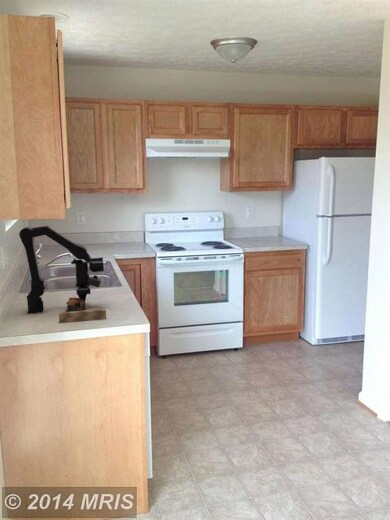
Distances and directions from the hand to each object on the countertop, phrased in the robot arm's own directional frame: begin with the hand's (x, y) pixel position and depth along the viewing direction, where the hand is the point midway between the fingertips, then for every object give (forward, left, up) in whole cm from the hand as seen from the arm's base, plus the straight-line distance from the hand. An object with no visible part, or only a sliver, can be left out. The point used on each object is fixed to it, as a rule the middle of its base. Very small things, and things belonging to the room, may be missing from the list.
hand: (83, 304), depth 225 cm
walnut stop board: (-1, -19, -2) cm, 19 cm away
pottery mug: (-3, -7, -2) cm, 8 cm away
